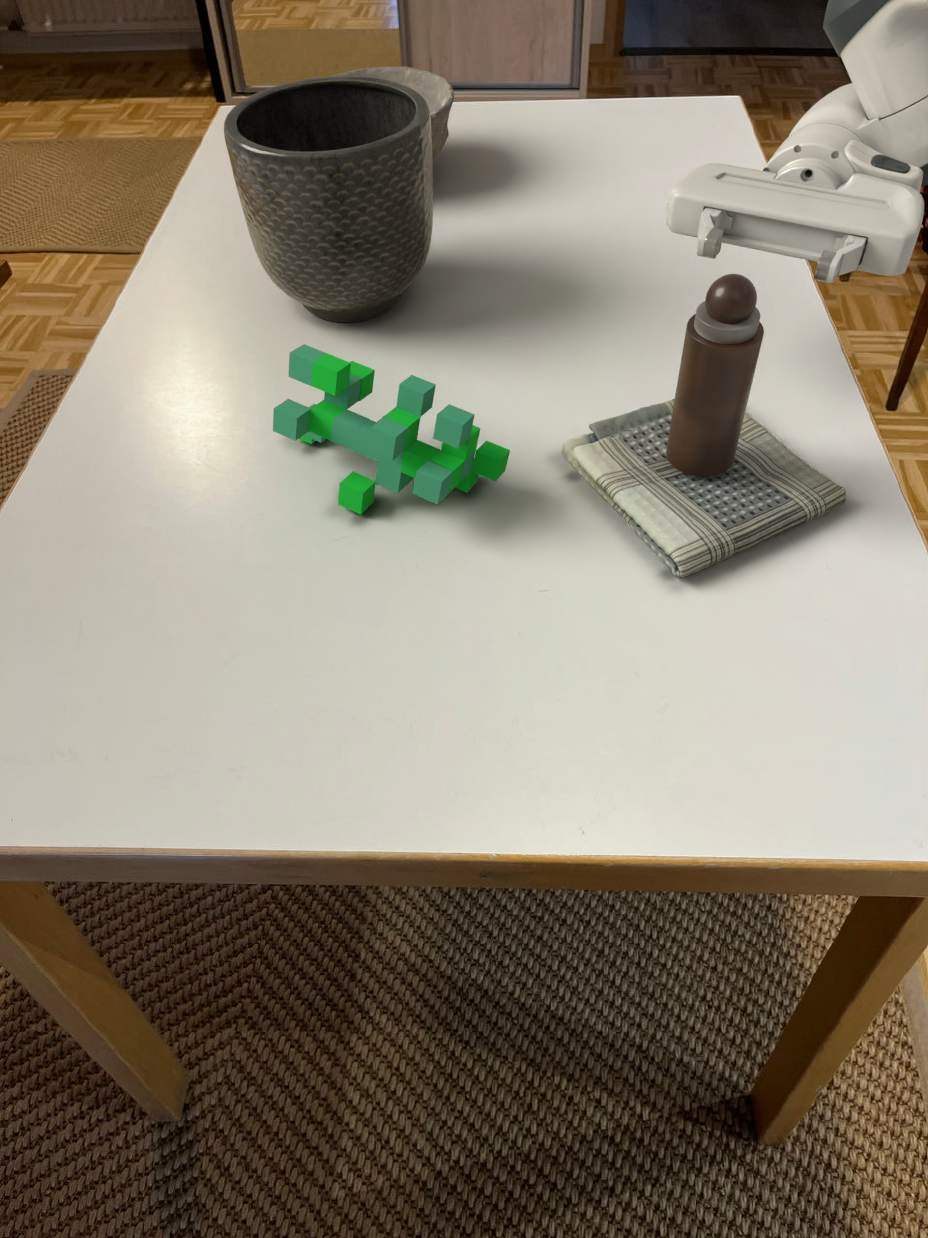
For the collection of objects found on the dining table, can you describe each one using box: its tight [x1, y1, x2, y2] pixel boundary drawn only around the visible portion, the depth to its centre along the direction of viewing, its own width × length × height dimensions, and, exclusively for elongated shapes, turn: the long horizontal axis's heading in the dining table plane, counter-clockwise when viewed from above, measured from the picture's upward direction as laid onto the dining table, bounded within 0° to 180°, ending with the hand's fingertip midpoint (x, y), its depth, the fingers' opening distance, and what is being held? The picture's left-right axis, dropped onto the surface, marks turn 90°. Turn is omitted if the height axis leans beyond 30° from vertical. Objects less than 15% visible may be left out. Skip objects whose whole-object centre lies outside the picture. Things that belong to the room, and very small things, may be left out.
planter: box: [223, 75, 434, 323], centre depth 95 cm, size 20×20×19 cm
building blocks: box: [272, 343, 511, 515], centre depth 78 cm, size 20×13×13 cm, turn 79°
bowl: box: [329, 66, 455, 160], centre depth 118 cm, size 21×21×10 cm
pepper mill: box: [666, 273, 765, 477], centre depth 71 cm, size 6×6×16 cm
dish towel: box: [560, 398, 847, 578], centre depth 78 cm, size 19×18×3 cm
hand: (764, 260), depth 73 cm, fingers open, 8 cm apart
